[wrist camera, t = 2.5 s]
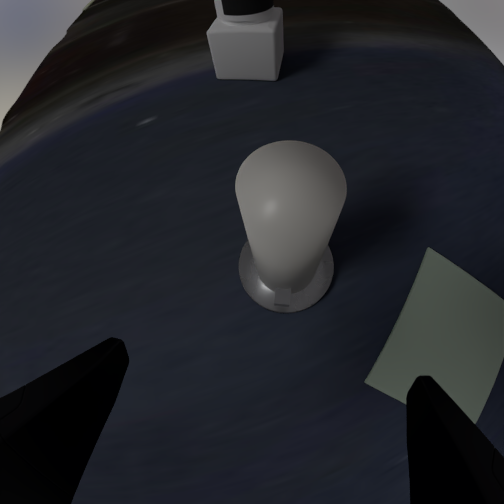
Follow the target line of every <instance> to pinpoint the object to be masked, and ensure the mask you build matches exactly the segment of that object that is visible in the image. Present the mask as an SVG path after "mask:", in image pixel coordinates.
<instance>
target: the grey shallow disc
mask: <svg viewBox="0 0 504 504" xmlns="http://www.w3.org/2000/svg"><path fill="white" fill-rule="evenodd" d="M333 271H334V263H333V257H332V253H331V251H330V248H329V246H328V245H327V247H326V250H325V252H324V254H323V257H322V259H321V262H320V264H319V266H318V269H317V271H316V273H315V276H314V278H313V280H312V281H311V283H310V284H309V285H308V286H307V287H306V288H304V289H303V290H301V291H299V292H297V293H293V294H291V295H290V304H289V307H283V306H274V300H275V292H274V291H272V290H270V289H268V288H267V287H266V286H265V285H264V284H263V283H262V281H261V280H260V278H259V276H258V273H257V270H256V266H255V262H254V258H253V255H252V251H251V247H250V244H249V240H247V242H246V243H245V245H244V247H243V249H242V251H241V254H240V259H239V274H240V279H241V282H242V284H243V286H244V288H245V290H246V292H247V293H248V295H249V296H250V297H251V298H252V299H253V300H254V301H255V302H256V303H257V304H258V305H260V306H261V307H263V308H265V309H267V310H270V311H273V312H277V313H295V312H300V311H303V310H305V309H307V308H309V307H311V306H312V305H314V304H315V303H317V302H318V301H319V300H320V299H321V298H322V296H323V295H324V294H325V292H326V291H327V289H328V288H329V285H330V283H331V280H332V277H333Z"/></svg>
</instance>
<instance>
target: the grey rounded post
mask: <svg viewBox="0 0 504 504" xmlns="http://www.w3.org/2000/svg"><path fill="white" fill-rule="evenodd" d="M235 188H236V195H237V199H238V203H239V207H240V211H241V214H242V218H243V222H244V225H245V229H246V233H247V236H248V240H249V244H250V247H251V251H252V255H253V258H254V262H255V266H256V270H257V273H258V276H259V278H260V280H261V281H262V283H263V284H264V285H265V286H266V287H267V288H268V289H270V290H272V291H274V292H275V300H274V306H283V307H289V304H290V295H291V294H293V293H297V292H299V291H301V290H303V289H304V288H306V287H307V286H308V285H309V284H310V283H311V281H312V280H313V278H314V276H315V273H316V271H317V269H318V266H319V264H320V262H321V259H322V257H323V254H324V252H325V250H326V247H327V245H328V242H329V240H330V237H331V235H332V233H333V230H334V228H335V225H336V223H337V220H338V217H339V215H340V212H341V210H342V207H343V205H344V202H345V198H346V191H347V187H346V180H345V176H344V174H343V171H342V169H341V168H340V166H339V164H338V163H337V162H336V161H335V160H334V158H333V157H332V156H330V155H329V154H328V153H327V152H325V151H324V150H322V149H321V148H319V147H316V146H314V145H312V144H309V143H305V142H301V141H278V142H274V143H270V144H267V145H265V146H262V147H261V148H259V149H257V150H256V151H254V152H253V153H252V154H250V155H249V156H248V157H247V158H246V160H245V161H244V162H243V163H242V165H241V167H240V169H239V171H238V173H237V177H236V184H235Z"/></svg>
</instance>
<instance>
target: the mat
mask: <svg viewBox="0 0 504 504" xmlns="http://www.w3.org/2000/svg"><path fill="white" fill-rule="evenodd" d="M503 358H504V300H503V299H502V298H501V297H499V296H498V295H497V294H495V293H494V292H493V291H491V290H490V289H489V288H487V287H486V286H485V285H483V284H482V283H480V282H479V281H478V280H476V279H475V278H474V277H472V276H471V275H469V274H468V273H466V272H465V271H464V270H462V269H461V268H459V267H458V266H456V265H455V264H453V263H452V262H451V261H449V260H448V259H446V258H445V257H443V256H442V255H440V254H438V253H437V252H435V251H434V250H432V249H431V248H429V247H428V248H427V250H426V252H425V255H424V258H423V261H422V263H421V266H420V268H419V271H418V273H417V276H416V278H415V281H414V283H413V286H412V288H411V290H410V293H409V295H408V297H407V300H406V302H405V304H404V306H403V309H402V311H401V313H400V315H399V317H398V319H397V321H396V324H395V326H394V328H393V330H392V332H391V334H390V336H389V338H388V340H387V342H386V344H385V345H384V347H383V349H382V351H381V353H380V355H379V357H378V359H377V360H376V362H375V364H374V366H373V368H372V369H371V371H370V373H369V375H368V376H367V378H366V380H365V382H364V383H366V384H368V385H370V386H372V387H374V388H376V389H378V390H379V391H381V392H383V393H385V394H387V395H389V396H391V397H393V398H395V399H397V400H399V401H401V402H403V403H405V404H406V397H407V393H408V391H409V389H410V388H411V386H412V384H413V382H414V381H415V379H416V378H417V377H418V376H420V375H429V376H431V377H432V378H433V379H434V380H435V381H436V382H437V383H438V384H439V385H440V386H441V387H442V388H443V390H444V391H445V392H446V393H447V394H448V395H449V396H450V397H451V398H452V399H453V400H454V401H455V403H456V404H457V405H458V406H459V407H460V408H461V409H462V410H463V411H464V413H465V414H466V415H467V416H468V417H469V418H470V419H471V420H472V422H473V423H474V424H476V422H477V420H478V418H479V416H480V414H481V412H482V410H483V408H484V405H485V403H486V401H487V399H488V396H489V394H490V392H491V390H492V387H493V385H494V382H495V380H496V377H497V375H498V372H499V369H500V367H501V364H502V361H503Z"/></svg>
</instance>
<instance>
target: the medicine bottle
mask: <svg viewBox="0 0 504 504" xmlns="http://www.w3.org/2000/svg"><path fill="white" fill-rule="evenodd" d="M214 2H215V7H216V12H217V16H218V17H217V18H216V19H215V21H214V22H213V24H212V25H211V27H210V28H209V30H208V31H207V37H208V41H209V46H210V50H211V54H212V59H213V63H214V67H215V72H216V76H217V78H218V79H241V80H266V81H276V80H277V79H278V75H279V71H280V66H281V62H282V57H283V53H284V40H283V12H282V9H281V8H276V7H274V5H273V0H214Z"/></svg>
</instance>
